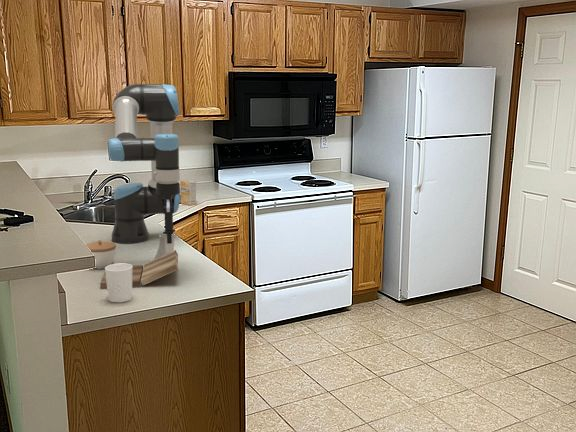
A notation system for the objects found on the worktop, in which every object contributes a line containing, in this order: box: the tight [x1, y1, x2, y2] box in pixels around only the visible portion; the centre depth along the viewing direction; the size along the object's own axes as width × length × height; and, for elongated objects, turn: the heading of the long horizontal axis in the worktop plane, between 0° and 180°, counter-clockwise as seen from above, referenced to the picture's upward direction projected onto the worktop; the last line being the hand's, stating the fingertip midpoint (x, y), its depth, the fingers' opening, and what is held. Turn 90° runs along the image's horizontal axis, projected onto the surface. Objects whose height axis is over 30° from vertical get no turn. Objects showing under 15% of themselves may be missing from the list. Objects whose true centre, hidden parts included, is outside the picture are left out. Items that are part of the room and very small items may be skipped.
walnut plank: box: [99, 264, 144, 290], centre depth 194 cm, size 18×12×2 cm, turn 10°
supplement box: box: [179, 179, 197, 207], centre depth 321 cm, size 8×5×13 cm, turn 50°
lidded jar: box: [85, 240, 117, 270], centre depth 207 cm, size 11×11×9 cm
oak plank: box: [141, 249, 179, 286], centre depth 195 cm, size 18×12×2 cm, turn 10°
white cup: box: [104, 262, 133, 303], centre depth 175 cm, size 8×8×10 cm
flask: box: [153, 233, 168, 260], centre depth 213 cm, size 7×7×10 cm
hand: (169, 251), depth 195 cm, fingers closed
